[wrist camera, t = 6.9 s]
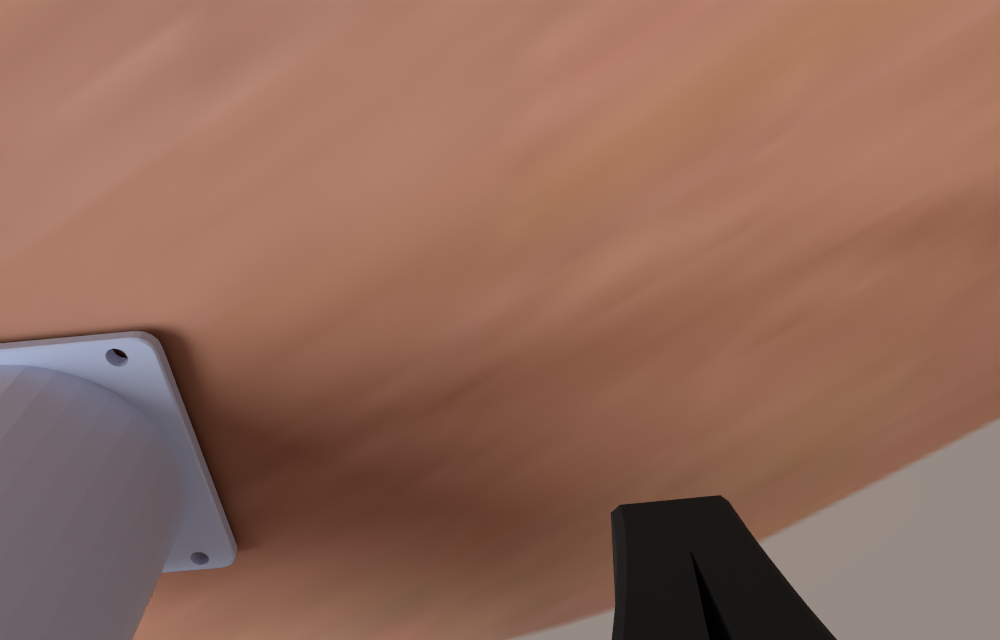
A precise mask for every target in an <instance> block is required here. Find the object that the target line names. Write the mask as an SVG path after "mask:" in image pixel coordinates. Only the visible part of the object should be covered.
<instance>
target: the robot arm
mask: <svg viewBox="0 0 1000 640" xmlns="http://www.w3.org/2000/svg"><path fill="white" fill-rule="evenodd" d="M112 349H119V350H121V351H123V352H124V353H125V354H126V355H127V357H128V358H124V357H120V356H118V355H116V354H115V353H114V351H113V350H112ZM611 523H612V543H613V564H614V584H615V614H614V624H613V633H612V640H837V639H836V638H835V637H834V636H833V635H832V634H831V632H830V631H829V630H828V629H827V628H826V627H825V626H824V624H823V623H822V622H821V621H820V620H819V618H818V617H817V616H816V615H815V614H814V613H813V611H812V610H811V609H810V608H809V607H808V606H807V604H806V603H805V602H804V601H803V600H802V598H801V597H800V596H799V595H798V593H797V592H796V591H795V590H794V589H793V587H792V586H791V585H790V583H789V582H788V581H787V580H786V578H785V577H784V576H783V575H782V573H781V572H780V571H779V570H778V568H777V567H776V566H775V564H774V563H773V562H772V561H771V559H770V558H769V557H768V556H767V554H766V553H765V551H764V550H763V549H762V547H761V546H760V545H759V543H758V542H757V541H756V539H755V538H754V537H753V535H752V534H751V533H750V531H749V530H748V528H747V527H746V526H745V524H744V523H743V521H742V520H741V519H740V517H739V516H738V514H737V513H736V512H735V510H734V509H733V507H732V506H731V504H730V503H729V501H727V500H726V499H725V498H723V497H722V496H721V495H718V496H708V497H697V498H687V499H677V500H666V501H656V502H645V503H635V504H625V505H619V506H618V507H617V508H616V509H615V510H614V511H612V512H611ZM199 552H202V553H204V554H201V553H199ZM236 554H237V545H236V542H235V539H234V537H233V534H232V531H231V529H230V526H229V523H228V521H227V518H226V515H225V513H224V510H223V507H222V505H221V502H220V499H219V497H218V494H217V491H216V489H215V486H214V483H213V481H212V478H211V475H210V473H209V470H208V467H207V465H206V462H205V459H204V457H203V454H202V451H201V449H200V446H199V443H198V441H197V438H196V435H195V433H194V430H193V427H192V425H191V422H190V419H189V417H188V414H187V411H186V409H185V406H184V403H183V401H182V398H181V395H180V393H179V390H178V387H177V385H176V382H175V379H174V377H173V374H172V371H171V368H170V366H169V363H168V360H167V358H166V355H165V352H164V350H163V347H162V345H161V344H160V342H159V340H158V339H156V338H155V337H154V336H153V335H151V334H149V333H146V332H143V331H129V332H119V333H108V334H97V335H86V336H75V337H64V338H53V339H43V340H32V341H21V342H10V343H0V640H132V639H133V637H134V634H135V632H136V630H137V628H138V625H139V623H140V621H141V618H142V616H143V614H144V611H145V609H146V607H147V605H148V602H149V600H150V598H151V595H152V593H153V591H154V589H155V586H156V584H157V582H158V579H159V577H160V575H161V573H164V572H176V571H188V570H200V569H212V568H223V567H227V566H229V565H231V564H232V563H233V561H234V560H235V557H236Z"/></svg>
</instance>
